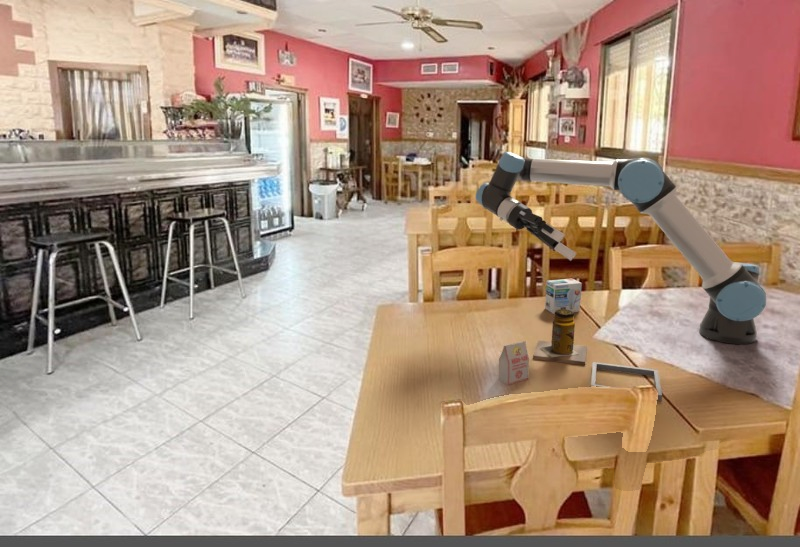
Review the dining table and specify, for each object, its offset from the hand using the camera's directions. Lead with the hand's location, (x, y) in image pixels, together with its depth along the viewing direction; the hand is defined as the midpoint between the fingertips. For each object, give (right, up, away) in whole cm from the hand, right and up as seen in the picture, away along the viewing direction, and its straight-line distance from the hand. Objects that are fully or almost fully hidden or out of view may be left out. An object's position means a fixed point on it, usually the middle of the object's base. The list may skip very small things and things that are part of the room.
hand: (568, 248), depth 157 cm
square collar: (+8, -35, -20) cm, 41 cm away
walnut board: (-3, -31, -1) cm, 31 cm away
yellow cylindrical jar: (-3, -30, -2) cm, 30 cm away
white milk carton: (-19, -35, -16) cm, 43 cm away
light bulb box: (+9, -21, +37) cm, 44 cm away
